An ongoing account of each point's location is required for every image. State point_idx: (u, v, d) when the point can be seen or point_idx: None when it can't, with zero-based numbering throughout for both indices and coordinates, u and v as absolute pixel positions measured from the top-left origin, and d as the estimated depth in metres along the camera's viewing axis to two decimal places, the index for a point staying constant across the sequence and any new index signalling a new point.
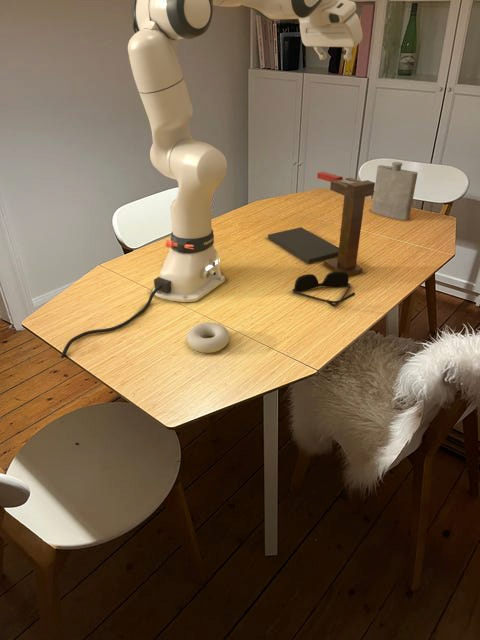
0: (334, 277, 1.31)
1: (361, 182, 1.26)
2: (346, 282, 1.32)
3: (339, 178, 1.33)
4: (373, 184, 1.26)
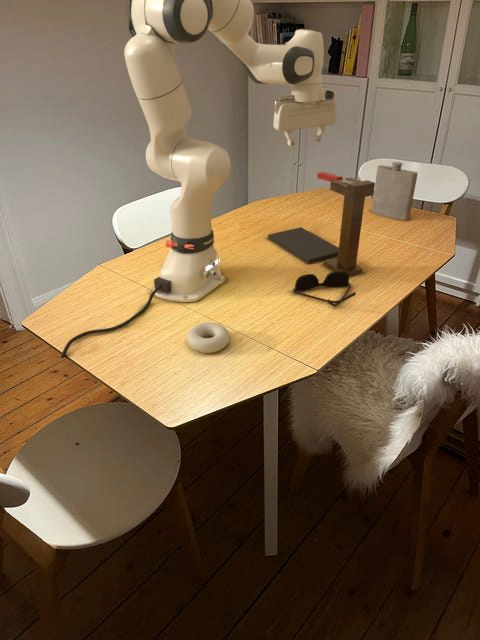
0: (334, 277, 1.31)
1: (361, 182, 1.26)
2: (346, 282, 1.32)
3: (339, 178, 1.33)
4: (373, 184, 1.26)
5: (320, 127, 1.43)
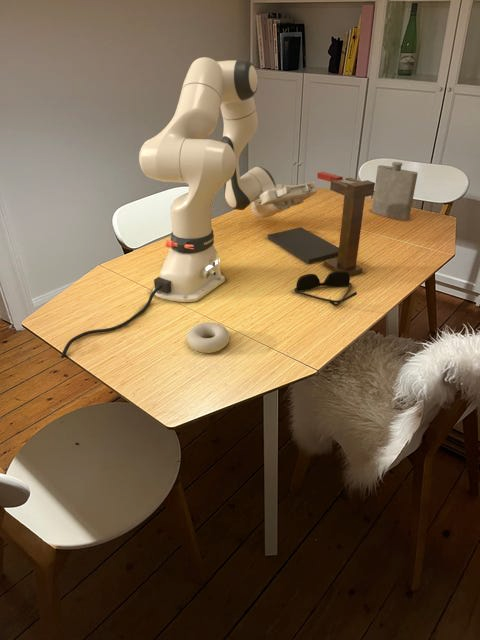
0: (335, 276, 1.31)
1: (361, 182, 1.26)
2: (347, 281, 1.32)
3: (339, 178, 1.33)
4: (373, 184, 1.26)
5: (306, 186, 1.56)
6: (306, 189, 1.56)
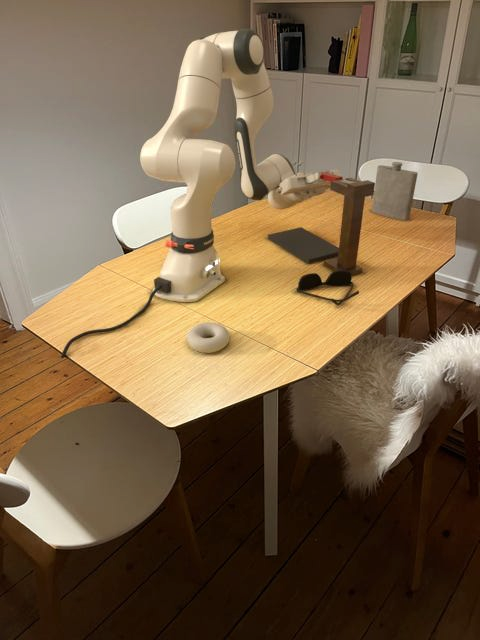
0: (337, 276, 1.31)
1: (361, 182, 1.26)
2: (349, 281, 1.32)
3: (339, 178, 1.33)
4: (373, 184, 1.26)
5: None
6: None
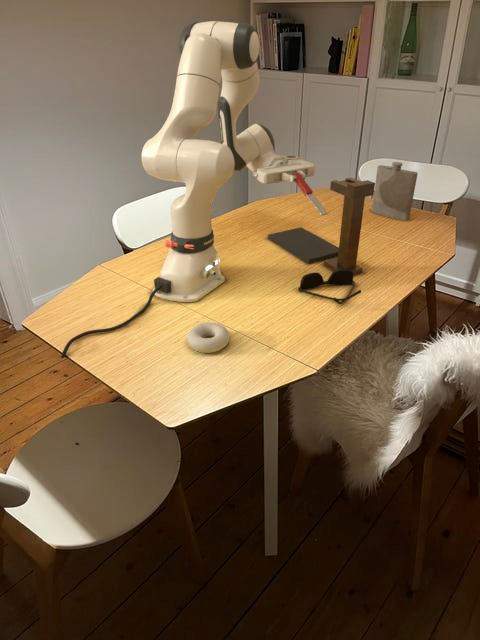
0: (339, 275, 1.32)
1: (361, 182, 1.26)
2: (351, 280, 1.33)
3: (309, 192, 1.47)
4: (373, 184, 1.26)
5: (297, 172, 1.53)
6: None
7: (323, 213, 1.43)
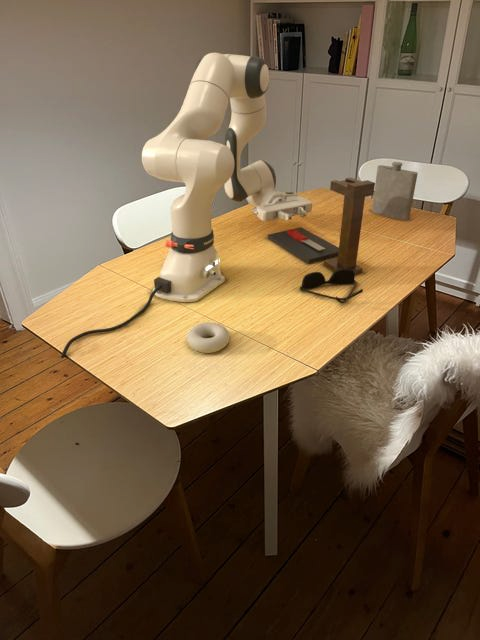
0: (340, 274, 1.32)
1: (361, 182, 1.26)
2: (352, 279, 1.33)
3: (305, 238, 1.56)
4: (373, 184, 1.26)
5: (298, 209, 1.60)
6: (297, 211, 1.61)
7: (320, 249, 1.49)
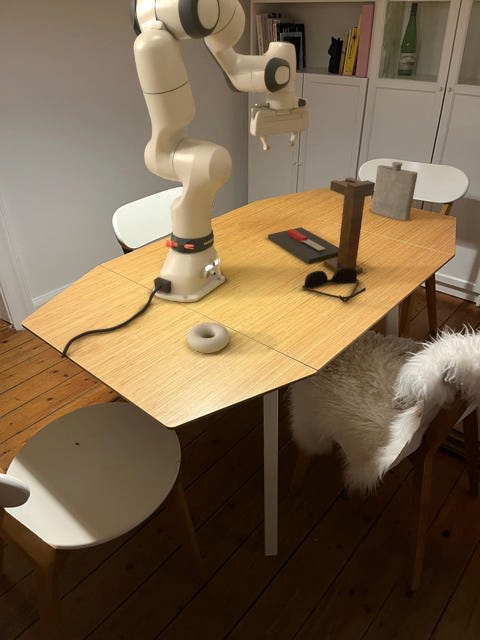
0: (343, 273, 1.33)
1: (361, 182, 1.26)
2: (355, 278, 1.34)
3: (305, 238, 1.56)
4: (373, 184, 1.26)
5: (293, 133, 1.52)
6: (292, 131, 1.53)
7: (320, 249, 1.49)
